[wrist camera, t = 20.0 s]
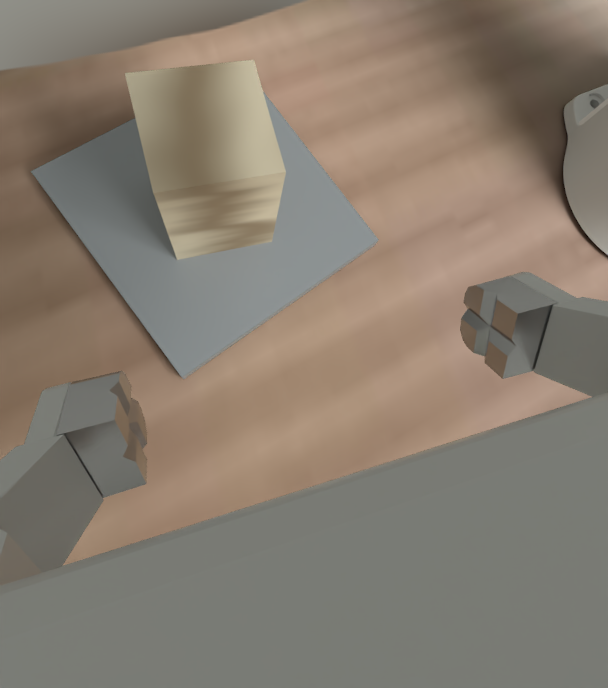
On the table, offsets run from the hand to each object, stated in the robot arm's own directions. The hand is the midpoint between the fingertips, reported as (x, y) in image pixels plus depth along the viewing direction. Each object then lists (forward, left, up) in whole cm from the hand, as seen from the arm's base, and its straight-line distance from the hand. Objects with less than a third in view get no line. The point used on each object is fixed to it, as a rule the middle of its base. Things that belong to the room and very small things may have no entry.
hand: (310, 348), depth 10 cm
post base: (-5, -12, -18) cm, 22 cm away
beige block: (-5, -12, -17) cm, 21 cm away
